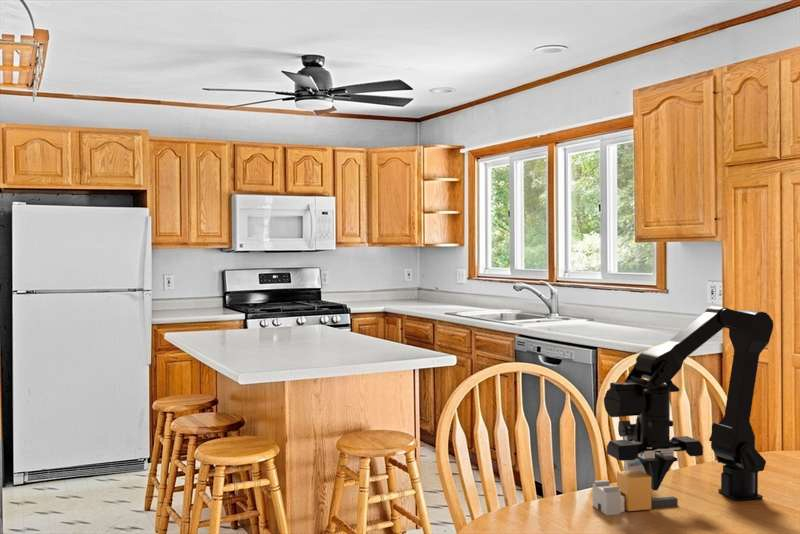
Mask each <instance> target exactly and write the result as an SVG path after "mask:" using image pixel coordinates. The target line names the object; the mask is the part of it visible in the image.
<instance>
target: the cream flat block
mask: <svg viewBox="0 0 800 534" xmlns="http://www.w3.org/2000/svg"><path fill="white" fill-rule="evenodd" d="M624 512H625V510H624V496H622V495H621V513H624Z"/></svg>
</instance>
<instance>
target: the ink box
mask: <svg viewBox="0 0 800 534" xmlns="http://www.w3.org/2000/svg"><path fill="white" fill-rule="evenodd" d="M623 440H627V436H624V437H623ZM629 442H631V443H633V444H640V442H636V441H634V440H633V441H629ZM650 448H651V447H650ZM650 448H647V449H650ZM631 470H640V471H642V472H644V473H646V472H645V469H644V467H643V465H642V463H641V462H640V460H639V459H637V458H636V459H635V460H626V461H623V471H631Z"/></svg>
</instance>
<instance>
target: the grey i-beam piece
mask: <svg viewBox="0 0 800 534" xmlns="http://www.w3.org/2000/svg"><path fill="white" fill-rule="evenodd" d="M598 504H601V506H599V507H601V510H600V511H599V512H601V513H603V514H604V515H605V516H606V517H607V516H617V515H618V516H619V515H621V513H622V512H621V492H620V491H619V487H618V486H617V485H610V480H608V479H606V480H605V479H604V480H601V479H600V480H594V481H593V483H592V507H594V508H595V509H597V510H598Z"/></svg>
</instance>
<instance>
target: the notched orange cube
mask: <svg viewBox="0 0 800 534" xmlns="http://www.w3.org/2000/svg"><path fill="white" fill-rule="evenodd" d="M616 486H618V487H619V491H620V492H621V495H622V496H624V500H626V510H625V511H628V512H632V511H634V512H635V511H636V512H637V511H644V510H645V511H646V510H647V511H648V510H652V508H651V498H652V489H651V476H649V475H647V474H646V473H644V472H642V471H640V470H631V471H624V470H621V471H616Z"/></svg>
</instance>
